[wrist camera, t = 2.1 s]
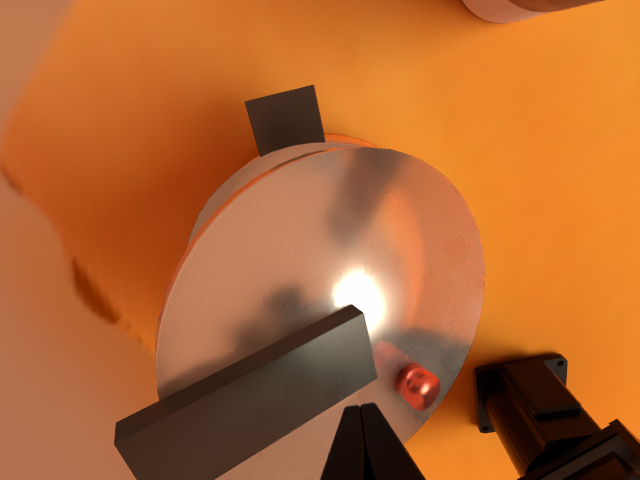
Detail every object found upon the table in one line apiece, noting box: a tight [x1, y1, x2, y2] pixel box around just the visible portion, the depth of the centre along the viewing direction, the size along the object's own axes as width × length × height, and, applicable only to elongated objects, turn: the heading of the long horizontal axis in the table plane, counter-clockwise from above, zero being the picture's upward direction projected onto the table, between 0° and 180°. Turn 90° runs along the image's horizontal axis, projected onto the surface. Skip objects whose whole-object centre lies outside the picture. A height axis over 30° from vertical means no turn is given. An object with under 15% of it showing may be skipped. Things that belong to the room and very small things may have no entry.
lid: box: [114, 147, 484, 480], centre depth 13 cm, size 14×15×2 cm
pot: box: [187, 85, 379, 247], centre depth 19 cm, size 18×14×5 cm
